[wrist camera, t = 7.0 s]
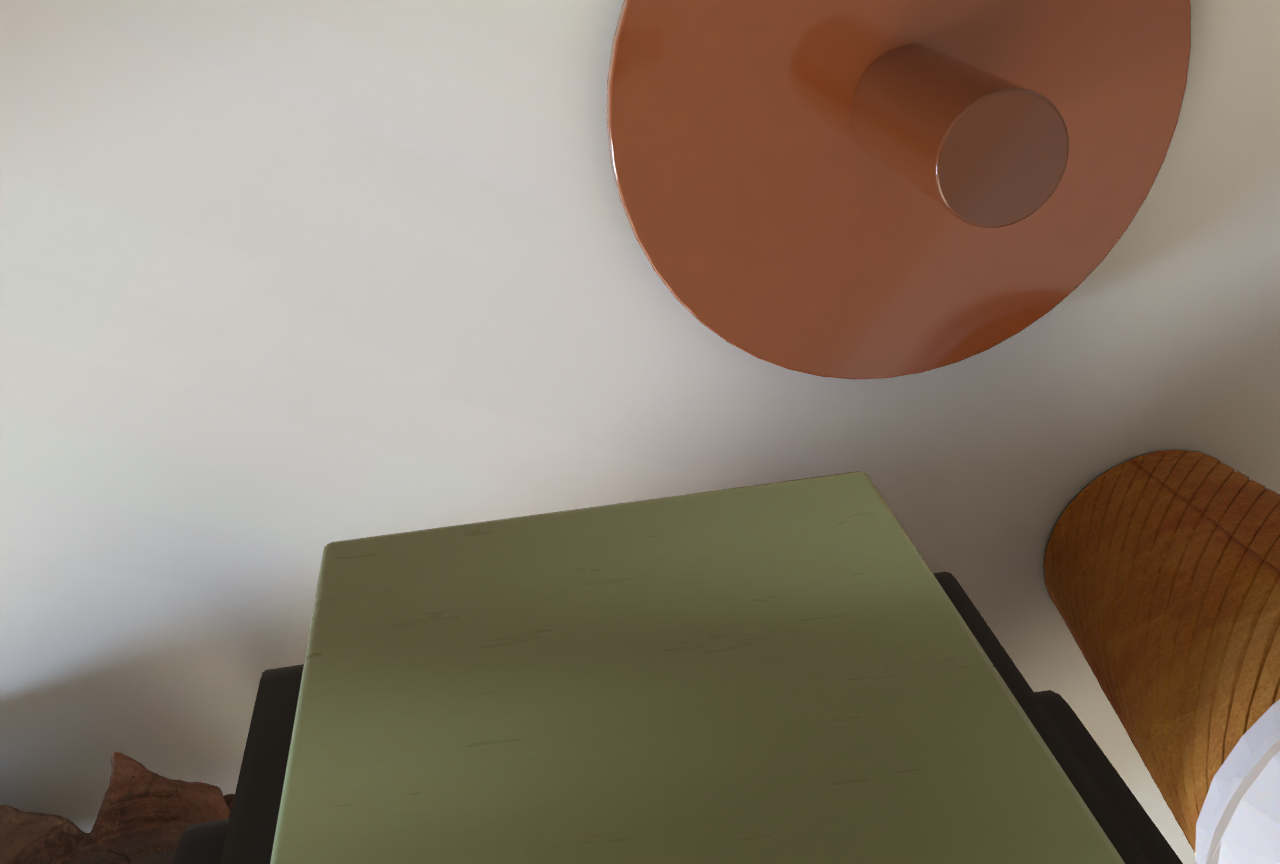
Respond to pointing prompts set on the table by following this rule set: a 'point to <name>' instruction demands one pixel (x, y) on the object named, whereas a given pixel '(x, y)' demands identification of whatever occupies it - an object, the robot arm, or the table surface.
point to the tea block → (663, 697)
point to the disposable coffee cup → (1184, 636)
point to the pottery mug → (116, 822)
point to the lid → (887, 163)
